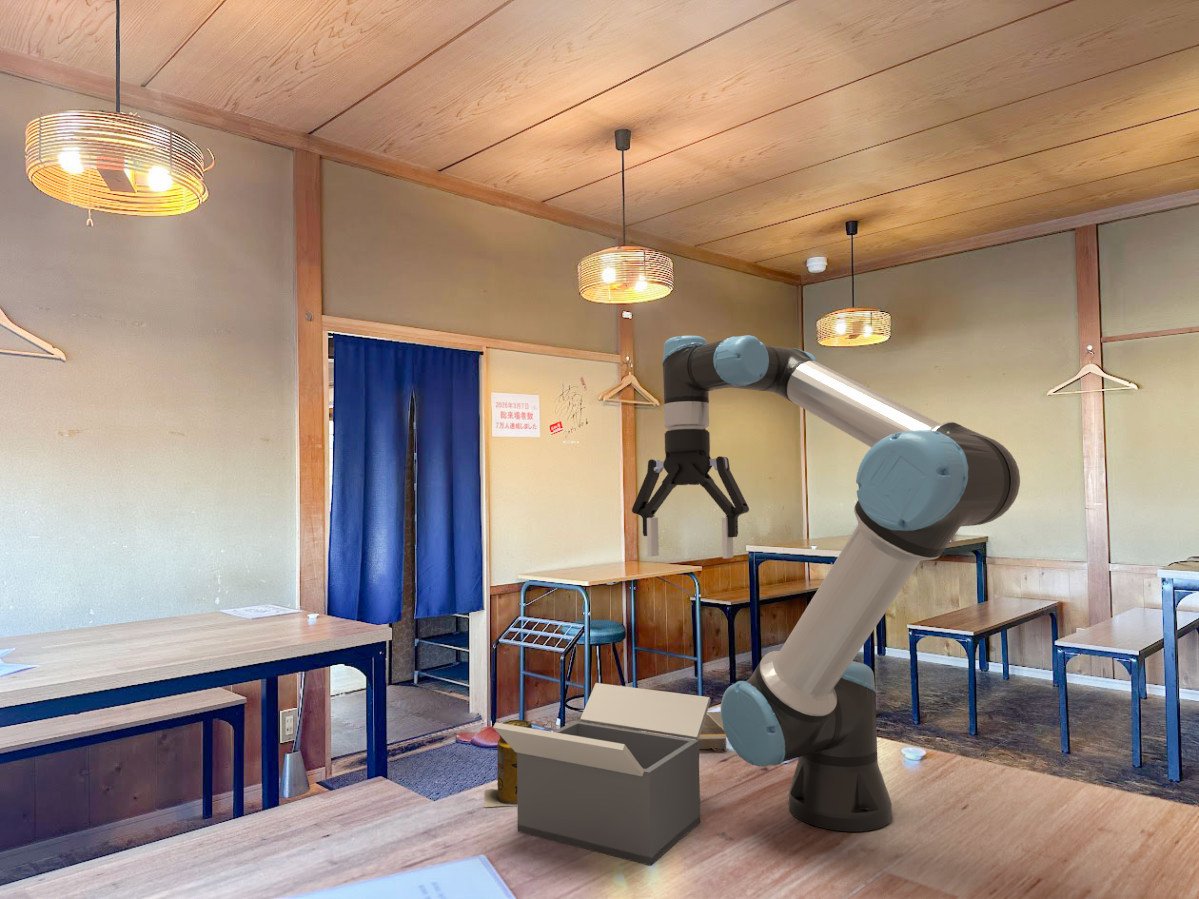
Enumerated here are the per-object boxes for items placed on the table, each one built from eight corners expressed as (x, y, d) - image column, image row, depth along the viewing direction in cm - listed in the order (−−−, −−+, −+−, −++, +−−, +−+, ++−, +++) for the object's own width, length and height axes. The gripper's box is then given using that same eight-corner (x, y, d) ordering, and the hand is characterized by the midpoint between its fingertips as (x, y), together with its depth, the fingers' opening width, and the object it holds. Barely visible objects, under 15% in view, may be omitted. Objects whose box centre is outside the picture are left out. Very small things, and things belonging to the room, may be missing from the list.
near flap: (624, 744, 100) (622, 750, 100) (644, 770, 104) (642, 776, 104) (495, 722, 111) (493, 727, 110) (517, 747, 115) (515, 752, 114)
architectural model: (728, 756, 149) (727, 716, 149) (691, 756, 149) (690, 717, 149) (724, 750, 152) (724, 711, 153) (689, 751, 152) (688, 712, 153)
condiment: (537, 804, 125) (537, 728, 126) (484, 808, 124) (484, 730, 125) (535, 788, 132) (534, 716, 133) (484, 791, 131) (484, 718, 132)
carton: (700, 822, 117) (698, 740, 118) (650, 865, 103) (649, 772, 104) (576, 795, 128) (576, 721, 129) (517, 831, 115) (517, 747, 116)
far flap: (696, 737, 119) (698, 740, 119) (709, 697, 123) (710, 700, 124) (580, 718, 129) (582, 721, 130) (595, 682, 134) (597, 685, 135)
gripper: (766, 426, 128) (769, 557, 127) (632, 435, 141) (634, 553, 140) (749, 423, 122) (753, 560, 120) (611, 432, 135) (613, 556, 133)
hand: (689, 557), depth 130 cm, fingers open, 13 cm apart
